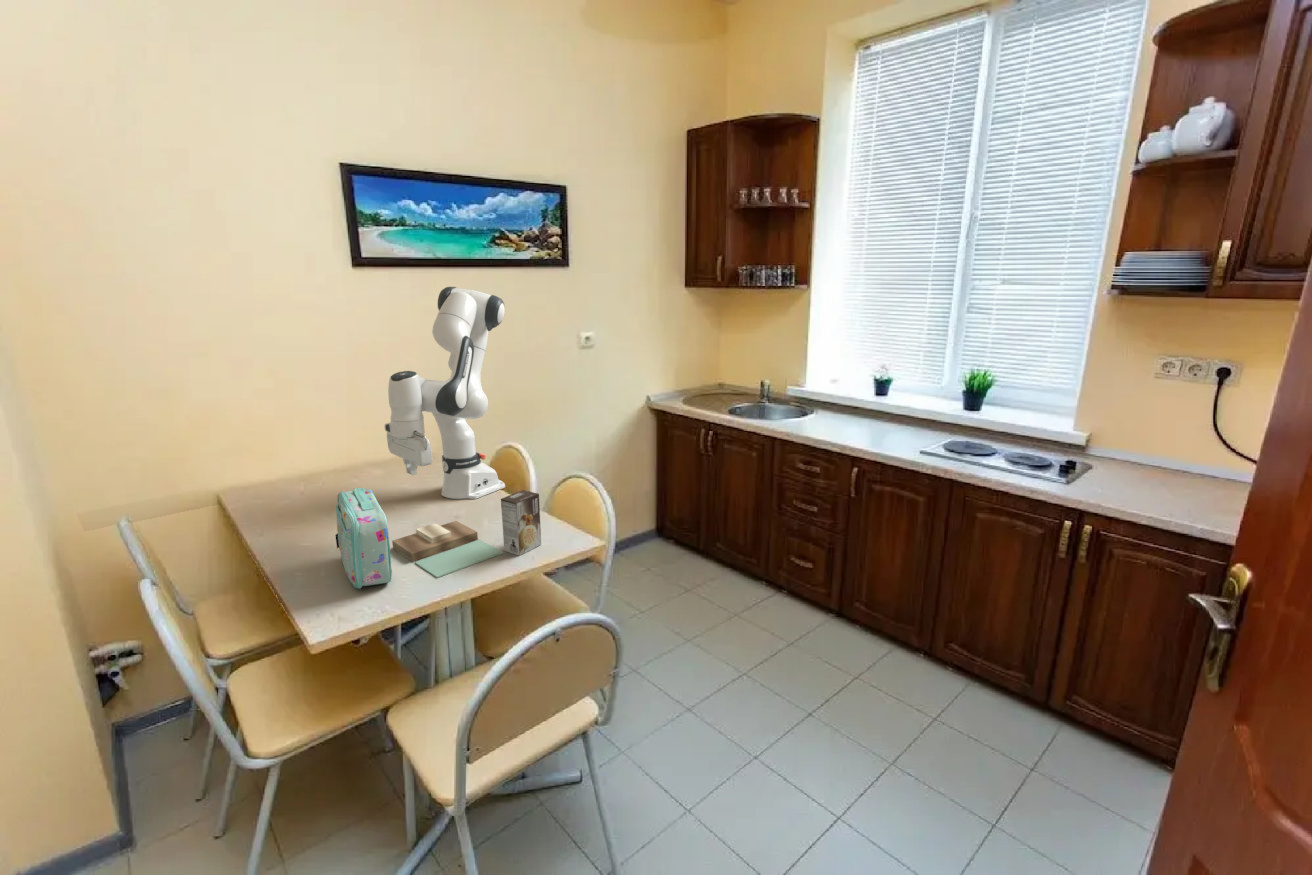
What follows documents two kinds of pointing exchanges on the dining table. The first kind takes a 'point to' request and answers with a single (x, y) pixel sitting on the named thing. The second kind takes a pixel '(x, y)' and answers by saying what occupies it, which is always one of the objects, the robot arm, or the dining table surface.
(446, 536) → the birch tile
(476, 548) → the sage mat
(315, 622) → the dining table surface
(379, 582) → the lunch box
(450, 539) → the walnut deck
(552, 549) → the dining table surface
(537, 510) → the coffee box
